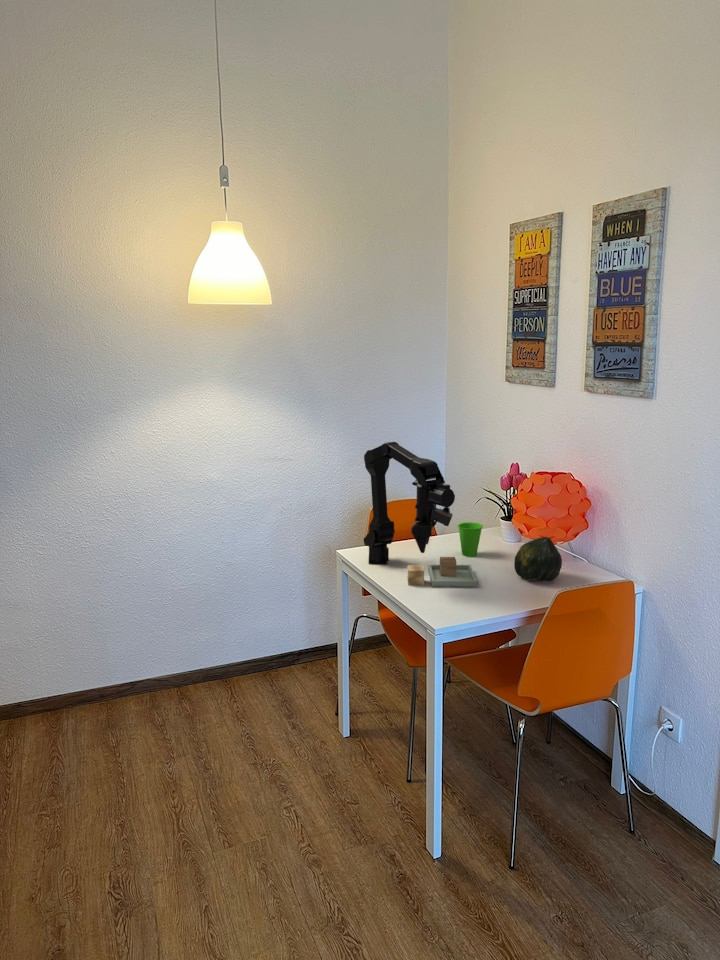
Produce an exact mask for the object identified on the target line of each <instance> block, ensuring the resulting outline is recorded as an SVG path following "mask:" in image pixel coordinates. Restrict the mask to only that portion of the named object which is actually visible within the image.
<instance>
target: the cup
mask: <svg viewBox="0 0 720 960" xmlns="http://www.w3.org/2000/svg"><path fill="white" fill-rule="evenodd" d="M457 528H458V533H459V541H460V549H461V554H462V556H463V557H466V558H473V557H476V556H477V554H478V551H479V550H478V548H479V544H480V539H481V535H482V530H483V528H484V526H483V524H481V523H478V522H473V521H468V522H467V521H466V522H460V523H458V524H457Z"/></svg>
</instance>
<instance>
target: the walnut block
mask: <svg viewBox="0 0 720 960" xmlns="http://www.w3.org/2000/svg"><path fill="white" fill-rule="evenodd" d="M439 565H440V567H439V571H440V575H441V576H456V565H458V564H457V558H456V557H455V556H439Z"/></svg>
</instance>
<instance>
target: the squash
mask: <svg viewBox="0 0 720 960" xmlns="http://www.w3.org/2000/svg"><path fill="white" fill-rule="evenodd" d="M513 564H514V566H513V567H514V570H515V573H516V574H517V575H518V577H520V578H521V579H525V580H527V581H532V580H535V581H547V582H551V581H554V580H556V579H557V578H558V577H559V574H560V571H561V569H562V566H563V565H562V564H563V560H562V555H561V553H560V552H559V549H558V548H557V546H556V545H555V544H554V542H553V540H552V538H550V537H549V536H548V537H547V536H542V537H538V538H535V539H533V540H531V541H528V542H526V543H524V544H522V545H521V546H520V548H519V549H518V550H517V553H516V554H515V556H514V563H513Z"/></svg>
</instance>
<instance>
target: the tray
mask: <svg viewBox="0 0 720 960" xmlns="http://www.w3.org/2000/svg"><path fill="white" fill-rule="evenodd" d="M427 566H428V570H427V571H428V574H429V578H430V583H431V587H432V588H477V587H478V581H477V578H476V575H475V573H474V571H473V568H472V566H471V564H456V576H441V575H440V571H439V567H440V564H428V565H427Z"/></svg>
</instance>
